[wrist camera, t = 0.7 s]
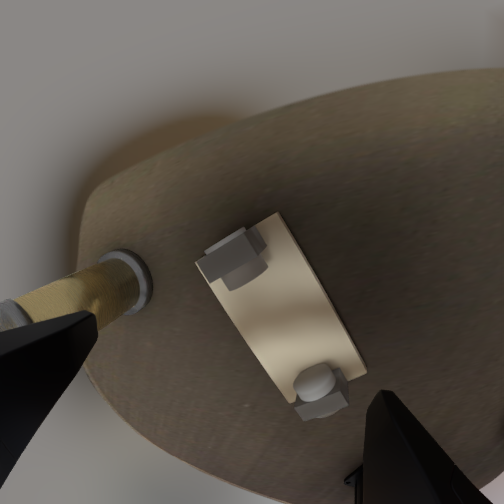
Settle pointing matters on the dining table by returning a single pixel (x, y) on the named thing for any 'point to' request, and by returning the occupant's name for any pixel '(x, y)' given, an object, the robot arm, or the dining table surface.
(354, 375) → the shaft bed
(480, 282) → the dining table surface
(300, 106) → the dining table surface
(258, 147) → the dining table surface
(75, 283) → the metal capped yellow cylinder
